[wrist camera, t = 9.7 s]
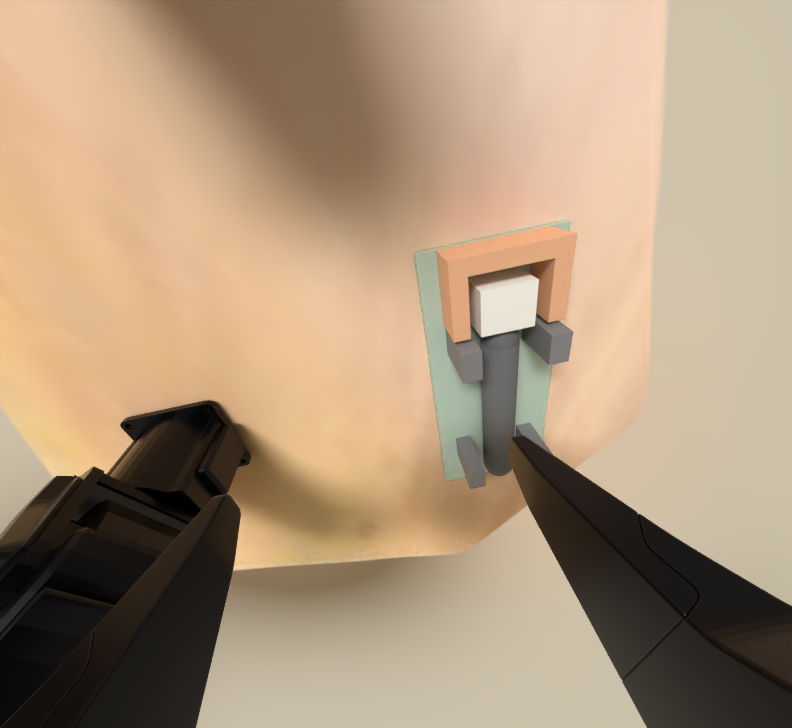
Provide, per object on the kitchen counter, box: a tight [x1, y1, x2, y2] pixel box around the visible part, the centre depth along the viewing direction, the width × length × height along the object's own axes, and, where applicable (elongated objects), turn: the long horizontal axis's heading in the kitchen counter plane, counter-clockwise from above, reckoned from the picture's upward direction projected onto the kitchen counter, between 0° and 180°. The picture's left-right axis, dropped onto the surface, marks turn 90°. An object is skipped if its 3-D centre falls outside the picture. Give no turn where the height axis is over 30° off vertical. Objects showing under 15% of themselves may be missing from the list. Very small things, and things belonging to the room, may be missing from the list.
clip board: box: [414, 220, 577, 489], centre depth 22 cm, size 9×21×4 cm, turn 10°
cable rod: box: [468, 268, 539, 476], centre depth 22 cm, size 3×17×2 cm, turn 10°
